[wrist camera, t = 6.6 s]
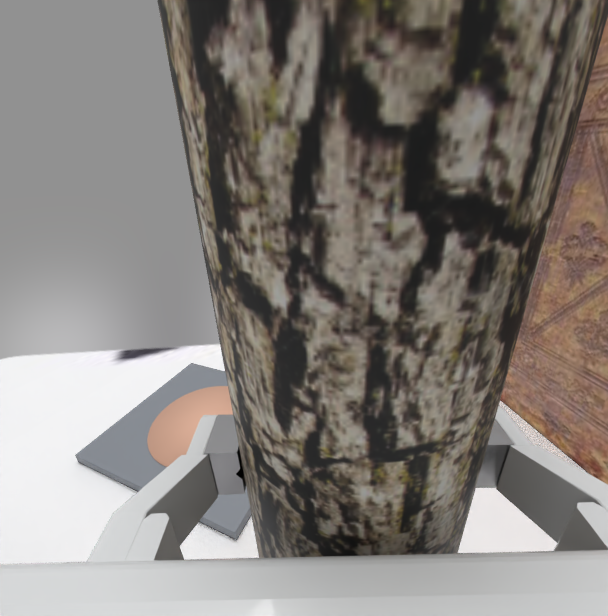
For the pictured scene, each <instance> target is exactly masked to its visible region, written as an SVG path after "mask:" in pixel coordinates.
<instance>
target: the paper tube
mask: <svg viewBox="0 0 608 616" xmlns="http://www.w3.org/2000/svg"><path fill="white" fill-rule="evenodd" d="M158 5H159V11H160V16H161V22H162V27H163V32H164V38H165V44H166V49H167V55H168V60H169V66H170V71H171V77H172V82H173V87H174V93H175V98H176V104H177V109H178V115H179V120H180V126H181V131H182V136H183V142H184V148H185V153H186V159H187V164H188V169H189V175H190V181H191V186H192V191H193V197H194V202H195V208H196V214H197V219H198V224H199V230H200V235H201V241H202V246H203V252H204V257H205V263H206V268H207V274H208V279H209V285H210V290H211V296H212V301H213V307H214V312H215V317H216V323H217V329H218V334H219V340H220V345H221V350H222V356H223V361H224V367H225V372H226V378H227V383H228V389H229V394H230V400H231V405H232V411H233V416H234V422H235V427H236V433H237V438H238V444H239V449H240V455H241V460H242V466H243V471H244V477H245V482H246V487H247V493H248V498H249V504H250V509H251V515H252V520H253V526H254V531H255V537H256V542H257V548H258V553H259V558H282V557H326V556H370V555H413V554H454V553H457V552H458V549H459V545H460V542H461V538H462V535H463V531H464V527H465V524H466V520H467V517H468V513H469V510H470V506H471V502H472V499H473V495H474V492H475V488H476V485H477V481H478V477H479V474H480V470H481V467H482V463H483V460H484V456H485V452H486V449H487V445H488V442H489V438H490V435H491V431H492V427H493V424H494V420H495V417H496V413H497V410H498V406H499V402H500V399H501V395H502V392H503V388H504V385H505V381H506V377H507V374H508V370H509V367H510V363H511V360H512V356H513V352H514V349H515V345H516V342H517V338H518V335H519V331H520V327H521V324H522V320H523V317H524V313H525V310H526V306H527V302H528V299H529V295H530V292H531V288H532V285H533V281H534V277H535V274H536V270H537V267H538V263H539V260H540V256H541V252H542V249H543V245H544V242H545V238H546V235H547V231H548V227H549V224H550V220H551V217H552V213H553V210H554V206H555V202H556V199H557V195H558V192H559V188H560V185H561V181H562V177H563V174H564V170H565V167H566V163H567V160H568V156H569V152H570V149H571V145H572V142H573V138H574V135H575V131H576V127H577V124H578V120H579V117H580V113H581V110H582V106H583V102H584V99H585V95H586V92H587V88H588V85H589V81H590V78H591V74H592V70H593V67H594V63H595V60H596V56H597V53H598V49H599V45H600V42H601V38H602V35H603V31H604V28H605V24H606V20H607V17H608V0H158Z"/></svg>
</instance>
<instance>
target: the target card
mask: <svg viewBox="0 0 608 616" xmlns="http://www.w3.org/2000/svg"><path fill="white" fill-rule="evenodd" d="M203 415H233V411H232V405H231V400H230V394H229V389H228V383H227V378H226V372H224V371H221V370H217V369H213V368H209V367H205V366H201V365H197V364H193V363H191V364H190V365H188V366H187V367H186V368H185V369H183V370H182V371H181V372H180V373H178V374H177V375H176V376H175V377H173V378H172V379H171V380H170V381H168V382H167V383H166V384H164V385H163V386H162V387H161V388H159V389H158V390H157V391H156V392H154V393H153V394H152V395H151V396H149V397H148V398H147V399H146V400H144V401H143V402H142V403H140V404H139V405H138V406H137V407H135V408H134V409H133V410H132V411H130V412H129V413H128V414H127V415H125V416H124V417H123V418H122V419H120V420H119V421H118V422H116V423H115V424H114V425H113V426H111V427H110V428H109V429H108V430H106V431H105V432H104V433H103V434H101V435H100V436H99V437H97V438H96V439H95V440H94V441H92V442H91V443H90V444H89V445H87V446H86V447H85V448H84V449H82V450H81V451H80V452H79V453H77V454H76V455H75V456H76V458H77V460H78V462H80V463H82V464H84V465H86V466H88V467H90V468H92V469H94V470H96V471H98V472H100V473H102V474H104V475H106V476H108V477H110V478H112V479H114V480H116V481H118V482H120V483H122V484H124V485H126V486H128V487H130V488H132V489H134V490H137V491H140V490H141V489H142V488H143V487H144V486H145V485H147V484H148V483H149V482H150V481H151V480H153V479H154V478H155V477H156V476H157V475H158V474H160V473H161V472H162V471H163V470H164V469H166V468H167V467H168V466H169V465H170V464H171V463H173V462H174V461H175V460H176V459H177V458H179V457H180V456H181V455H186V453H187V451H188V448H189V446H190V443H191V441H192V438H193V436H194V434H195V431H196V429H197V426H198V424H199V421H200V419H201V418H202V416H203ZM250 516H251V509H250V504H249V498H248V493H247V487H246V490H245V494H229V495H218V498H217V499H216V500H215V502H214V503H213V504H212V505H211V507H210V508H209V509H208V510H207V512H206V513H205V514H204V516H203V517H202V518H201V519H200V521H199V522H201V523H203V524H205V525H207V526H209V527H211V528H213V529H215V530H218V531H220V532H222V533H224V534H226V535H228V536H230V537H232V538H234V539H236V540H237V539H238V537H239V535H240V533H241V532H242V530H243V528H244V526H245V525H246V523H247V521H248V519H249V518H250Z"/></svg>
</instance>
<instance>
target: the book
mask: <svg viewBox="0 0 608 616" xmlns="http://www.w3.org/2000/svg"><path fill="white" fill-rule="evenodd" d="M500 400H501V401H502V402H504V403H505V404H506V405H507V406H508V407H510V408H511V409H512V410H513V411H514V412H516V413H517V414H518V415H519V416H520V417H522V418H523V419H524V420H525V421H527V422H528V423H529V424H530V425H531V426H533V427H534V428H535V429H536V430H537V431H539V432H540V433H541V434H542V435H543V436H545V437H546V438H547V439H548V440H550V441H551V442H552V443H553V444H554V445H556V446H557V447H558V448H559V449H560V450H562V451H563V452H564V453H565V454H566V455H568V456H569V457H570V458H571V459H573V460H574V461H575V462H576V463H577V464H579V465H580V466H581V467H582V468H583V469H585V470H586V471H587V472H588V473H589V474H591V475H592V476H593V477H595V478H597V479H599V480H600V481H602V482H604V483H606V484H607V485H608V17H607V20H606V24H605V28H604V31H603V35H602V38H601V42H600V45H599V49H598V53H597V56H596V60H595V63H594V67H593V70H592V74H591V78H590V81H589V85H588V88H587V92H586V95H585V99H584V102H583V106H582V110H581V113H580V117H579V120H578V124H577V127H576V131H575V135H574V138H573V142H572V145H571V149H570V152H569V156H568V160H567V163H566V167H565V170H564V174H563V177H562V181H561V185H560V188H559V192H558V195H557V199H556V202H555V206H554V210H553V213H552V217H551V220H550V224H549V227H548V231H547V235H546V238H545V242H544V245H543V249H542V252H541V256H540V260H539V263H538V267H537V270H536V274H535V277H534V281H533V285H532V288H531V292H530V295H529V299H528V302H527V306H526V310H525V313H524V317H523V320H522V324H521V327H520V331H519V335H518V338H517V342H516V345H515V349H514V352H513V356H512V360H511V363H510V367H509V370H508V374H507V377H506V381H505V385H504V388H503V392H502V395H501V399H500Z"/></svg>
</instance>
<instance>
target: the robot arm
mask: <svg viewBox="0 0 608 616" xmlns="http://www.w3.org/2000/svg"><path fill="white" fill-rule="evenodd" d="M476 488H496V489H497V490H498V491H499V492H500V493H501V494H503V495H504V496H505V497H506V498H507V499H508V500H509V501H510V502H512V503H513V504H514V505H515V506H516V507H517V508H518V509H520V510H521V511H522V512H523V513H524V514H525V515H526V516H528V517H529V518H530V519H531V520H532V521H533V522H534V523H535V524H537V525H538V526H539V527H540V528H541V529H542V530H543V531H545V532H546V533H547V534H548V535H549V536H550V537H551V538H553V539H554V540H555V541H556V542H557V545H556V547H555V549H554V551H538V552H496V553H454V554H413V555H370V556H326V557H282V558H239V559H195V560H184V558H183V555H182V552H181V549H180V547H179V546H180V545H181V544H182V542H183V541H184V540H185V539H186V537H187V536H188V535H189V533H190V532H191V531H192V530H193V528H194V527H195V526H196V525H197V523H198V522H199V521H200V519H201V518H202V517H203V516H204V514H205V513H206V512H207V510H208V509H209V508H210V507H211V505H212V504H213V503H214V502H215V500H216V499H217V498H218V495H229V494H245V490H246V482H245V477H244V471H243V466H242V460H241V455H240V449H239V444H238V438H237V433H236V427H235V422H234V416H233V415H203V416H202V418H201V419H200V421H199V424H198V426H197V429H196V431H195V434H194V436H193V438H192V441H191V443H190V446H189V448H188V451H187V453H186V455H181V456H180V457H179V458H177V459H176V460H175V461H174V462H173V463H171V464H170V465H169V466H168V467H167V468H166V469H164V470H163V471H162V472H161V473H160V474H158V475H157V476H156V477H155V478H154V479H153V480H151V481H150V482H149V483H148V484H147V485H145V486H144V487H143V488H142V489H141V490H140V491H138V492H137V493H136V494H135V495H134V496H133V497H131V498H130V499H129V500H128V501H127V502H125V503H124V504H123V505H122V506H121V507H120V508H118V509H117V510H116V511H115V512H114V513H113V514H112V516H111V518H110V519H109V521H108V523H107V525H106V527H105V529H104V530H103V532H102V534H101V536H100V538H99V540H98V541H97V543H96V545H95V547H94V549H93V551H92V552H91V554H90V556H89V558H88V560H87V562H63V563H19V564H0V616H608V485H607V484H606V483H604V482H602V481H600V480H599V479H597V478H595V477H593V476H592V475H590V474H588V473H587V472H585V471H583V470H581V469H580V468H578V467H576V466H574V465H573V464H571V463H569V462H567V461H566V460H564V459H562V458H560V457H559V456H557V455H555V454H553V453H552V452H550V451H548V450H547V449H545V448H543V447H541V446H540V445H533V444H532V443H531V441H530V440H529V439H528V438H527V436H526V435H525V434H524V433H523V432H522V430H521V429H520V428H519V427H518V425H517V424H516V423H515V422H514V421H513V419H512V418H511V417H510V416H509V414H508V413H507V412H506V411H505V409H504V408H503V407H501V406H498V410H497V413H496V417H495V420H494V424H493V427H492V431H491V435H490V438H489V442H488V445H487V449H486V452H485V456H484V460H483V463H482V467H481V470H480V474H479V477H478V481H477V485H476Z"/></svg>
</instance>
